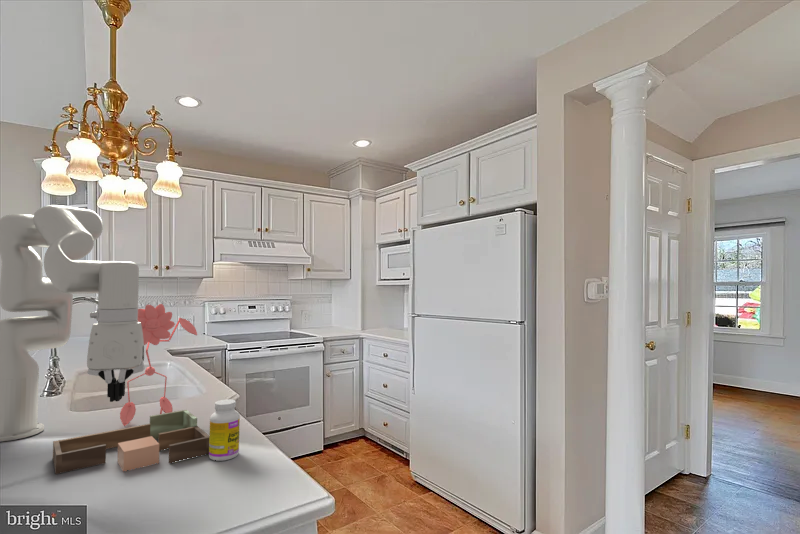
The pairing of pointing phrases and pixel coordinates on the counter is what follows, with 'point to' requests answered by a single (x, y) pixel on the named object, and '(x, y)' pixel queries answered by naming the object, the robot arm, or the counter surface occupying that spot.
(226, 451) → the supplement bottle
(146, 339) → the figurine
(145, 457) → the terracotta block
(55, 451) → the box
